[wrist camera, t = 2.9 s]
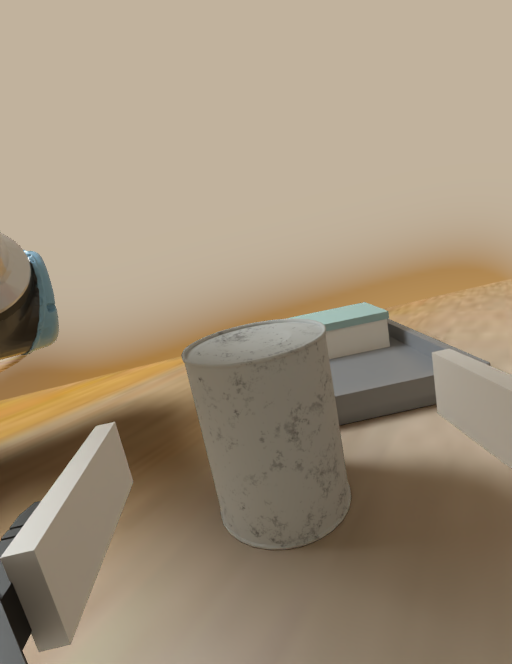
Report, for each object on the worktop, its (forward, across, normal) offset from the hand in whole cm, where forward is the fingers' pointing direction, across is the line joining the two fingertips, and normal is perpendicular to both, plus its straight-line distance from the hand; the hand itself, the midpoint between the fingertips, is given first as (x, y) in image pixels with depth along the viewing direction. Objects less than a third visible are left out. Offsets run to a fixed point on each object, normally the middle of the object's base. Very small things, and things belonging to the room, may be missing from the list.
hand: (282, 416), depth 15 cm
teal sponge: (+39, +13, -10) cm, 42 cm away
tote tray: (+32, +13, -11) cm, 36 cm away
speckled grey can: (+10, 0, -12) cm, 15 cm away
